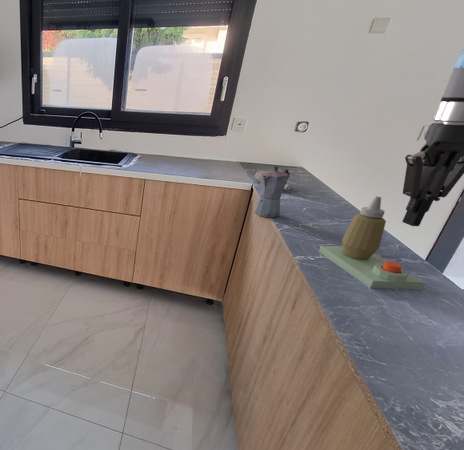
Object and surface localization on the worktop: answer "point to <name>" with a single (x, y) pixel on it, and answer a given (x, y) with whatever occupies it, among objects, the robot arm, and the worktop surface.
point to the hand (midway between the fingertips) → (410, 223)
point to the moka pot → (271, 192)
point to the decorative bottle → (258, 176)
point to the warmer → (371, 270)
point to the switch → (392, 267)
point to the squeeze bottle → (365, 232)
